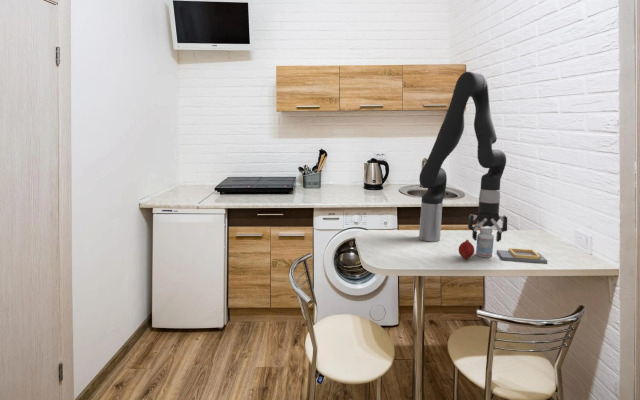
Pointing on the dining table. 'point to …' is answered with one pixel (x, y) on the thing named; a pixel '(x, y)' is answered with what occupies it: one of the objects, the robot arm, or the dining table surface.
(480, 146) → the robot arm
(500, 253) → the plate
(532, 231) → the dining table surface
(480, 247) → the pill bottle
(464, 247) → the onion
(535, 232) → the dining table surface
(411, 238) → the dining table surface
